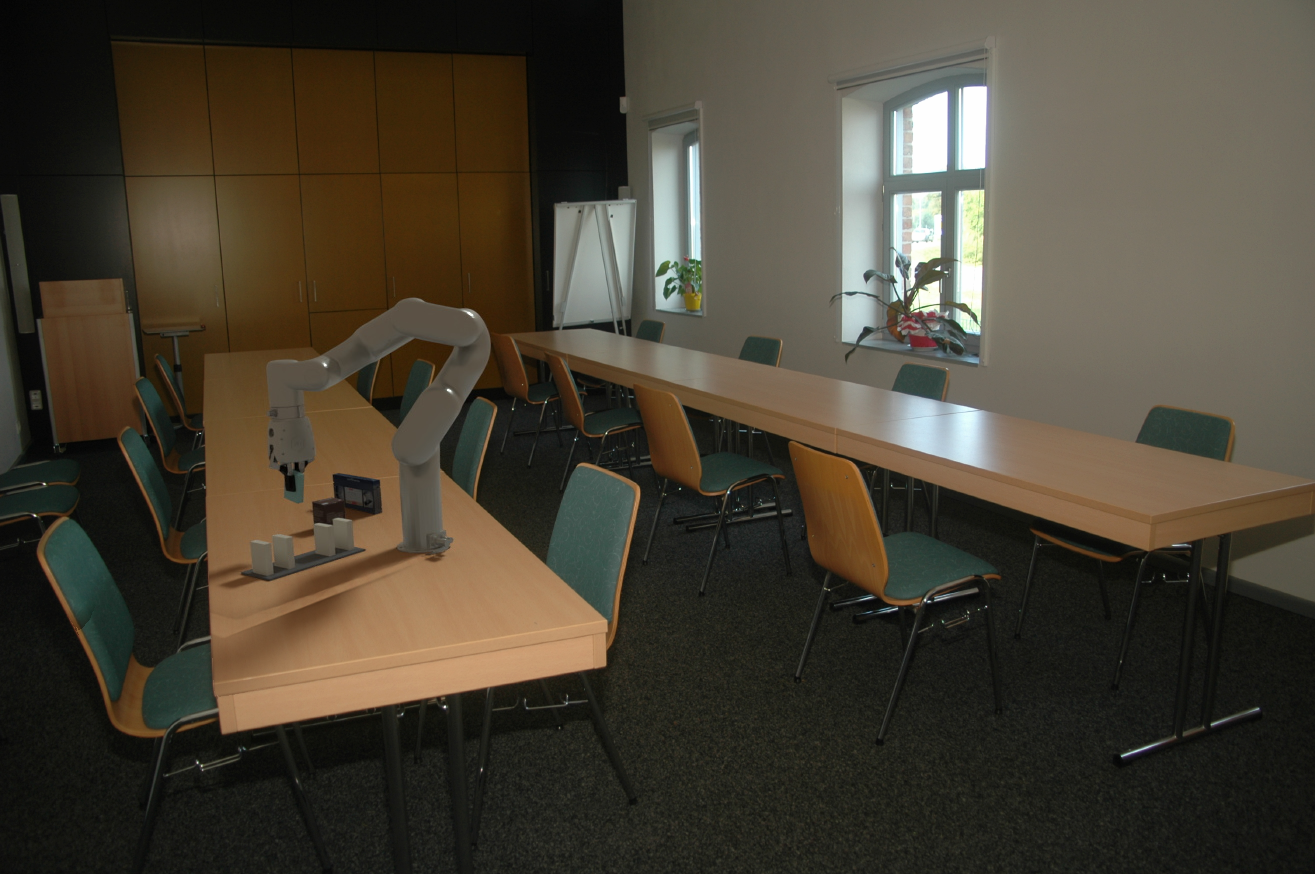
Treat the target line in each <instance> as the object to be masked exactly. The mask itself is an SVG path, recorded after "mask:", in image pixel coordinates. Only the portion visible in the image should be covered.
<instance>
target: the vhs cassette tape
mask: <svg viewBox="0 0 1315 874" xmlns="http://www.w3.org/2000/svg"><path fill="white" fill-rule="evenodd" d="M332 481H333V483H332V484H333V496H334V497H333V498H337V499H341V500H344V503H345V509H346V508H347V509H350V510H355V511H359V512H363V513H367V514H372V515H375V516H376V515H378V514H383V504H382V502H383V501H382V491H381V490H382V489H381V479H378V478H377V479H376V478H373V477H366V476H360V475H354V474H348V473H340V472H338V473H333V474H332Z"/></svg>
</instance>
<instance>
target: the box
mask: <svg viewBox="0 0 1315 874" xmlns="http://www.w3.org/2000/svg"><path fill="white" fill-rule="evenodd" d="M311 504H312V505H311V506H312V518H313V519H312V520H313V524H317V523H322V524H328V525H333V519H335V518H343V519H347V517H346V515H347V514H346V507H345V503H344V500H341V499H337V498H334V497H333V496H331V497H328V498H323V499H318V500H315V501H314V500H313V501H311Z"/></svg>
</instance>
